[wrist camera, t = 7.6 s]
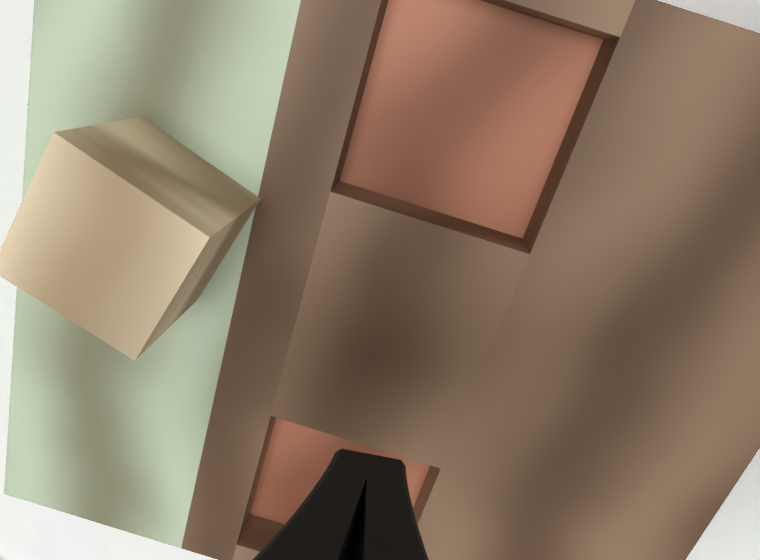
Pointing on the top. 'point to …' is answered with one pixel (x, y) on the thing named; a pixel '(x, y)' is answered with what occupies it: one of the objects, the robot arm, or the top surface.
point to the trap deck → (419, 272)
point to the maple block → (122, 230)
